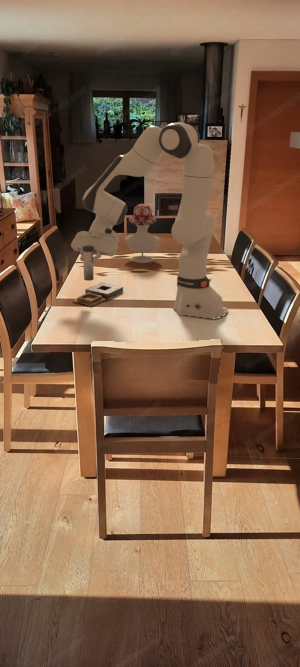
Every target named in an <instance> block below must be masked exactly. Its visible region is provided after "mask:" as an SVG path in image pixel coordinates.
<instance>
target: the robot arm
mask: <svg viewBox="0 0 300 667" xmlns="http://www.w3.org/2000/svg"><path fill="white" fill-rule="evenodd" d="M200 141H201V140H200V132H199V130H198V129H197V128H196V127H195V126H194V125H192V124H191V123H185V122H171V123H169V124H167V125H165V126H163V128H162V127H159V126H157V125H149V126H147V127H146V129H144V130H143V132H142V133H141V134H140V136H139V137H138V138H137V140H136V142H135V143H134V145H133V147H132V148H131V149H130V150H129V151H128V152H127V153H125V154H119V155H117V156H116V157H115V158H114V159H113V160H112V161H111V162H110V163H109V165H108V166H107V167H106V168H105V170H104V171H103V172H102V173H101V174H100V176H99V177H98V178H97V179H96V180H95V181H94V182H93V184H92V185H91V186H89V188H88V189H87V190H86V191H85V193H84V195H83V197H82V204H83V207H84V208H85V210H87V211H89V212H91V213H93V214H95V219H94V220H93V221H92V223H91V226H90V228H89V230H88V231H85V230H80V231H78V232H77V233H76V235H75V237H73V240H72V242H71V243H70V247H71V248H72V250H73V251H75V252H80V257H79V260H80V261H82V262H83V246H84V245H92V246H93V255H95V256H93V257H92V259H91V262H92V263H93V264H96V263H97V261H98V260H99V259H100V258H101V257H102V256H107V257H114V256H115V255H116V254H117V251H118V249H119V248H118V247H119V244H118V243H119V242H120V238H119V235H118V234H117V233H116V231H115V230H113V227H114V226H117V225H120V224H122V223H123V222H124V220H125V218H126V215H127V212H128V210H129V209H128V205H127V204H126V202H125V201H123V200H121V198H118V197H116V196H114V195H112V193H111V194H110V193H109V192H107V191H105V188H107V186H108V185H109V183H110V182H111V181H112V180H113V179H114V178H115V177H116V176H119V175H120V176H121V175H122V176H123V175H124V176H131V177H137V178H141V177H142V178H143V177H146V176H148V175H150V174H151V173H152V172H153V171H154V169H155V168H156V166H157V164H158V163H159V161H160V160H161V159H162V157H163V155H164V154H165V153H166V154H168V155H169V156H173V157H175V158H177V159H182V160H183V164H184V169H183V183H182V192H181V193H182V195H181V200H180V203H179V208H178V212H177V216H176V219H175V221H174V223H173V224H172V226H171V235H172V239H173V240H174V241H175V242H176V243H177V244H179V245H183V246H182V248H181V252H180V253H179V255H178V256H179V257H178V258H179V259H178V274H177V275H176V276H177V278H176V286H177V290H176V295H175V301H174V304H173V307H172V309H173V310H174V311H176V312H177V315H179V316H184V315H188V316H187V317H191V316H196V317H195V318H198V317H203V318H202V319H205V318H212V319H213V318H218V317H221V316H223V315H224V314H226V313H227V312H228V313H229V309H228V307H226V306H224V305H223V304H224V302H223V298H222V296H221V294H219V293H218V292H217V291H216V290H215V289H214V288H213V287H212V286H211V285H210V283H211V282H212V279H213V278H211V277H210V278H209V277H207V264H208V256H209V251H210V246H211V243H212V239H213V238H212V237H213V236H214V232H215V230H216V227H217V221H216V220H217V219H216V217H215V215H213V214H212V213H211V212H209V211H207V210H208V207H209V204H210V203H211V202H210V201H211V200H212V196H213V185H214V174H215V173H214V172H215V171H214V170H215V161H214V160H215V159H214V151H213V149H212V147H210V146H209V145H208V144H204V143H200ZM228 313H227V314H228ZM227 314H226V315H227ZM223 317H224V316H223ZM212 319H211V320H212Z"/></svg>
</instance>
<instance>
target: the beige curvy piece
mask: <svg viewBox="0 0 300 667" xmlns="http://www.w3.org/2000/svg"><path fill="white" fill-rule="evenodd" d="M157 219H158V217H157V216H155V215H153V209H152V207H151V206H150V205H149V204H146V203H140V204H139V203H138V204H137V205H136V206H135V207H134V208H133V214H131V215H130V216H128V221H129V223H131V224H132V225H135V226H136V227H137V229H136V232H135V233H132V234H129V235H127V236H126V237H125V239H124V242H125V245H126V246H127V247H128V248H129V249H130V250H131V251H132V253H140V254H141V255H137V256H132V257H130V258H129V259H130V261H131V262H133V263H138V264H148V263H149V264H150V263H152V262H154V261H155V258H154V257H152V256H148V255H144V253H145V254H150V253H152V252H153V251H154V250H155V249H156V248H157V247H158V245H159V243H160V241H161V239H160V237H158V236H156V235H153V234H151V233H150V232H148V229H149V227H150V225H153V224H154V223H156V222H157Z"/></svg>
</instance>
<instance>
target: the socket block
mask: <svg viewBox="0 0 300 667" xmlns="http://www.w3.org/2000/svg"><path fill="white" fill-rule="evenodd" d="M84 290H85V293H84V294H86V293H91V294H96V295H100V296H102V298H106V300H107V299H108V300H110V299H112V298H114V297H116V296H118V295H120V294H123V293H124V287H123V286H121V285H116V284H110V283H108V282H107V283H106V282H98V283H97V284H94V285H92V286H89V287H87V288H85V289H84ZM111 297H112V298H111ZM109 298H110V299H109Z"/></svg>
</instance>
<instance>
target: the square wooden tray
mask: <svg viewBox="0 0 300 667" xmlns="http://www.w3.org/2000/svg"><path fill="white" fill-rule="evenodd" d="M102 301H103V302H105V301H107V299H106V298H102V296H100V295H96V294H91V293H86V294H85V293H84V294H82V295H80V296H78V297H77V298H75V299H74V300H72V303H74V304H78V303H81V304H80V305H82V304H85V305H84V306H87V305H88V306H87V307H91V306H93V307H94V305H95V304H97V303H99V304H101V303H103V302H102ZM100 302H101V303H100ZM97 305H98V304H97ZM95 306H96V305H95Z"/></svg>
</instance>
